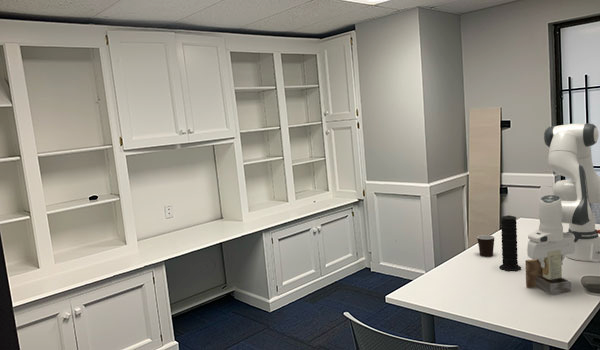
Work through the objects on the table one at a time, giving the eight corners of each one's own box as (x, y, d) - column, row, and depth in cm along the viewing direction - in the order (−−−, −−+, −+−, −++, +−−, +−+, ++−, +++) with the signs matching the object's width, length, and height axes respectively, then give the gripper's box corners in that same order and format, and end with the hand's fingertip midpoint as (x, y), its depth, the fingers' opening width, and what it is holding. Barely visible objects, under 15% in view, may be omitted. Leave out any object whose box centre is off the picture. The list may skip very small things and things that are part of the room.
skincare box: (555, 274, 198) (554, 247, 197) (562, 278, 194) (561, 249, 193) (541, 277, 197) (540, 249, 196) (549, 280, 193) (548, 251, 192)
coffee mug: (492, 258, 240) (492, 240, 239) (475, 256, 246) (475, 238, 244) (498, 252, 249) (497, 234, 248) (482, 250, 255) (481, 233, 253)
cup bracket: (558, 281, 203) (558, 255, 202) (578, 290, 192) (578, 263, 191) (526, 286, 201) (525, 260, 199) (544, 296, 190) (543, 268, 188)
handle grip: (501, 271, 221) (524, 271, 219) (499, 218, 217) (522, 217, 215) (497, 264, 231) (518, 264, 228) (495, 213, 227) (516, 212, 225)
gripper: (567, 229, 198) (567, 260, 200) (524, 235, 195) (525, 267, 197) (578, 232, 192) (579, 264, 194) (534, 239, 189) (535, 271, 190)
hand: (551, 266), depth 195 cm, fingers closed on skincare box, 6 cm apart
